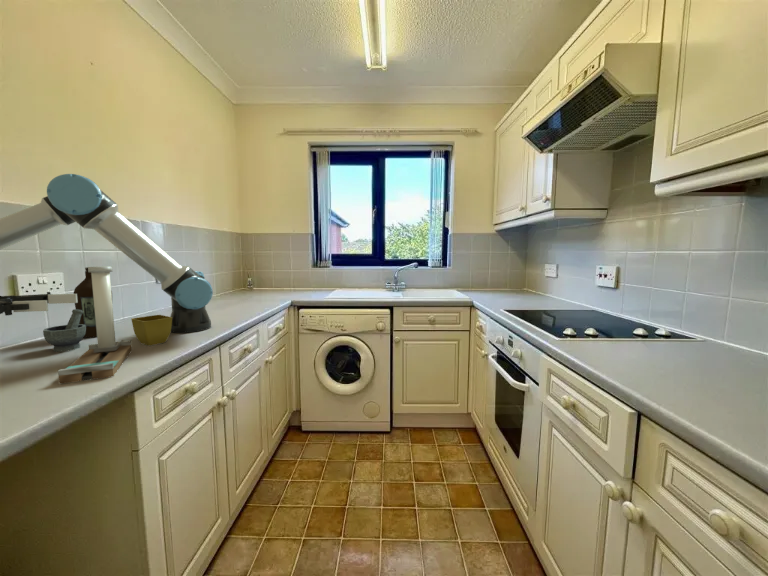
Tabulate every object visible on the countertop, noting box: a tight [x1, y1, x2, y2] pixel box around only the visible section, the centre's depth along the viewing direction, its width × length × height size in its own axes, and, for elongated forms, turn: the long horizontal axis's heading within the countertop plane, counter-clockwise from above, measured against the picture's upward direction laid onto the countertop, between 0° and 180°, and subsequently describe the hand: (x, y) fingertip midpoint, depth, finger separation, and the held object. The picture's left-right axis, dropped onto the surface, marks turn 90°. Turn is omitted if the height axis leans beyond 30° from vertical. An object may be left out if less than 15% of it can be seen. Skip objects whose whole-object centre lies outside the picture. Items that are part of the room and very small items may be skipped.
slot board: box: [57, 340, 133, 385], centre depth 89 cm, size 10×24×3 cm, turn 29°
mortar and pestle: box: [42, 308, 86, 352], centre depth 103 cm, size 11×9×12 cm
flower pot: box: [130, 314, 172, 347], centre depth 109 cm, size 9×9×9 cm
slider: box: [87, 265, 120, 353], centre depth 94 cm, size 5×5×24 cm
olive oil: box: [72, 266, 113, 339], centre depth 118 cm, size 11×11×25 cm
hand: (63, 301), depth 90 cm, fingers open, 13 cm apart
